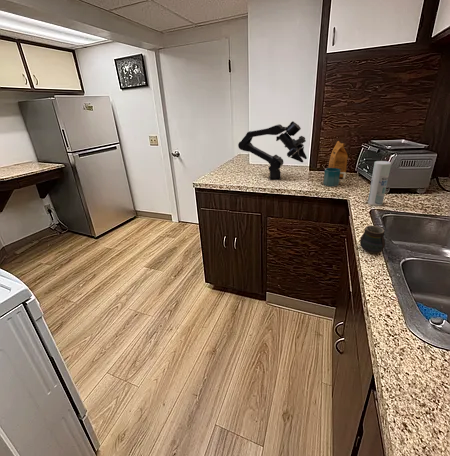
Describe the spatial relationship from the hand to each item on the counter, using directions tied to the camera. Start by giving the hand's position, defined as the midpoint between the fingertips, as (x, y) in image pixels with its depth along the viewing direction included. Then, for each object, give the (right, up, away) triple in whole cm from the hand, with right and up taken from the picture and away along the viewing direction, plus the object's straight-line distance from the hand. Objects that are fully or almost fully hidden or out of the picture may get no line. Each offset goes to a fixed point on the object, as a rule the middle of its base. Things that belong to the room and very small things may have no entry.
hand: (304, 160), depth 151 cm
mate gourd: (+1, -43, -67) cm, 79 cm away
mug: (+11, -10, -2) cm, 15 cm away
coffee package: (+24, -8, +12) cm, 28 cm away
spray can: (+24, -27, -32) cm, 48 cm away
